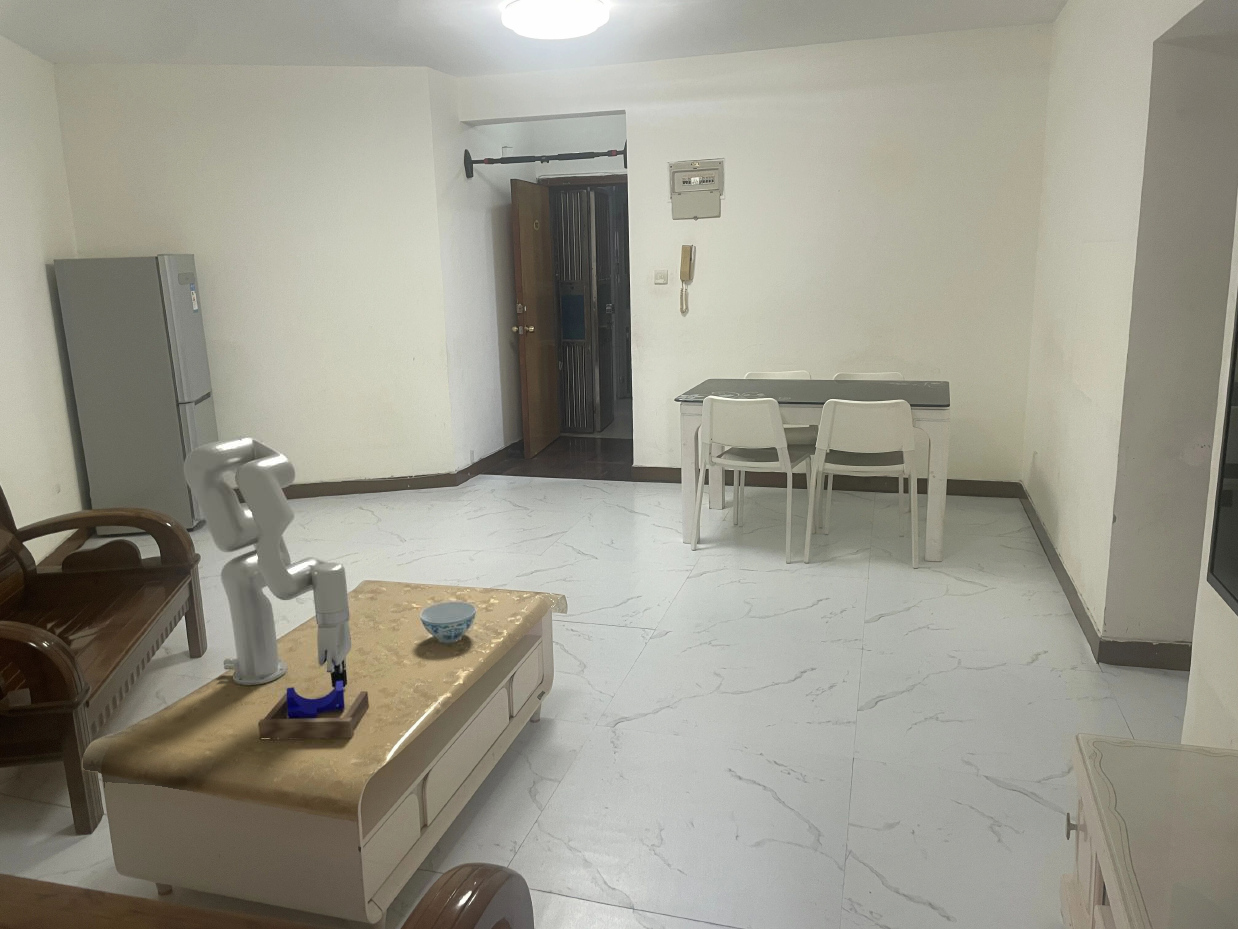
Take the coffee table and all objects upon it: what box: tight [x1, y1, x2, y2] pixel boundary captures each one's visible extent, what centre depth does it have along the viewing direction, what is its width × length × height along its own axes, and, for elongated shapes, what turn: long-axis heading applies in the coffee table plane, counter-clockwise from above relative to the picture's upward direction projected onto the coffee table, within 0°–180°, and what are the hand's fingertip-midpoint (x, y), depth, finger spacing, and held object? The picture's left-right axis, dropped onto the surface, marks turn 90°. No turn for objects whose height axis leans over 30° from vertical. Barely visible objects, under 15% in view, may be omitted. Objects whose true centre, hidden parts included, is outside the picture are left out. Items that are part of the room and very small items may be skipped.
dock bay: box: [257, 690, 370, 740], centre depth 189 cm, size 20×14×4 cm
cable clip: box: [286, 681, 346, 719], centre depth 192 cm, size 12×4×6 cm, turn 109°
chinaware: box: [419, 600, 477, 644], centre depth 232 cm, size 15×15×8 cm
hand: (339, 685), depth 205 cm, fingers closed
